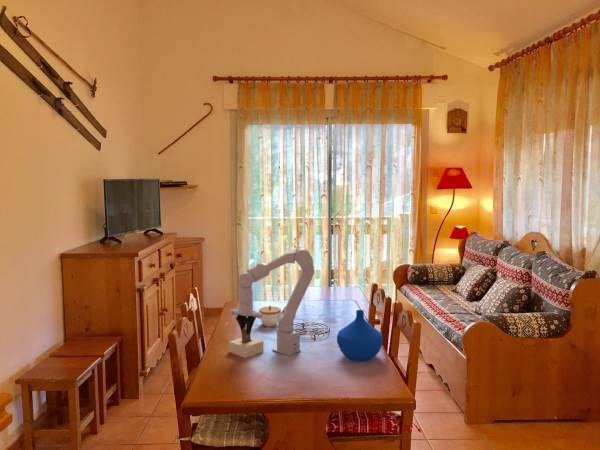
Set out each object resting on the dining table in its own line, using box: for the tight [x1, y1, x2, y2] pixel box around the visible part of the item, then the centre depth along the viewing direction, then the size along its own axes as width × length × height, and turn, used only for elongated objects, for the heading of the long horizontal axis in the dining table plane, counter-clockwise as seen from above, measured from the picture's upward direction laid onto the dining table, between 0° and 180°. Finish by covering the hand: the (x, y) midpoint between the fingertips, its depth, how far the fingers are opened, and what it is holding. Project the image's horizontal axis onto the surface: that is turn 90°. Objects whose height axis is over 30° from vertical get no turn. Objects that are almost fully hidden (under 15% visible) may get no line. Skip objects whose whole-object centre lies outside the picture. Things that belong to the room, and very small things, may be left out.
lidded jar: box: [258, 305, 282, 328], centre depth 233 cm, size 11×11×9 cm
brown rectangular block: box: [241, 327, 252, 344], centre depth 197 cm, size 2×4×7 cm, turn 155°
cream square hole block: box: [228, 336, 264, 359], centre depth 197 cm, size 10×10×4 cm
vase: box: [336, 309, 384, 363], centre depth 191 cm, size 18×18×19 cm
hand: (246, 333), depth 197 cm, fingers closed on brown rectangular block, 2 cm apart
